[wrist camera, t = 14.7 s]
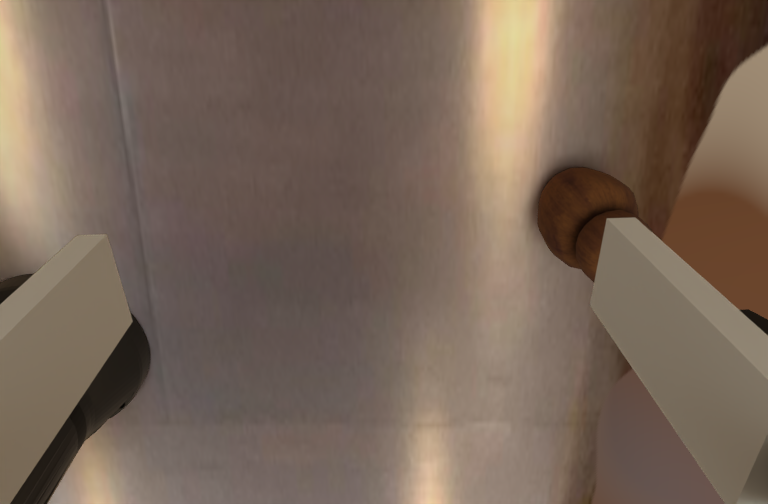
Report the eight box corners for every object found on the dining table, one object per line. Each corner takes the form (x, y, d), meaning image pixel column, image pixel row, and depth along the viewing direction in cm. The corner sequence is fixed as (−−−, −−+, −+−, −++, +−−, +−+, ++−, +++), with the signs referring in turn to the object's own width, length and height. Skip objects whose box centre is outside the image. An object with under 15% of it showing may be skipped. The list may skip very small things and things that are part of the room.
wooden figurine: (550, 147, 40) (642, 230, 27) (617, 166, 41) (737, 256, 28) (516, 224, 43) (583, 333, 30) (579, 240, 44) (671, 353, 31)
